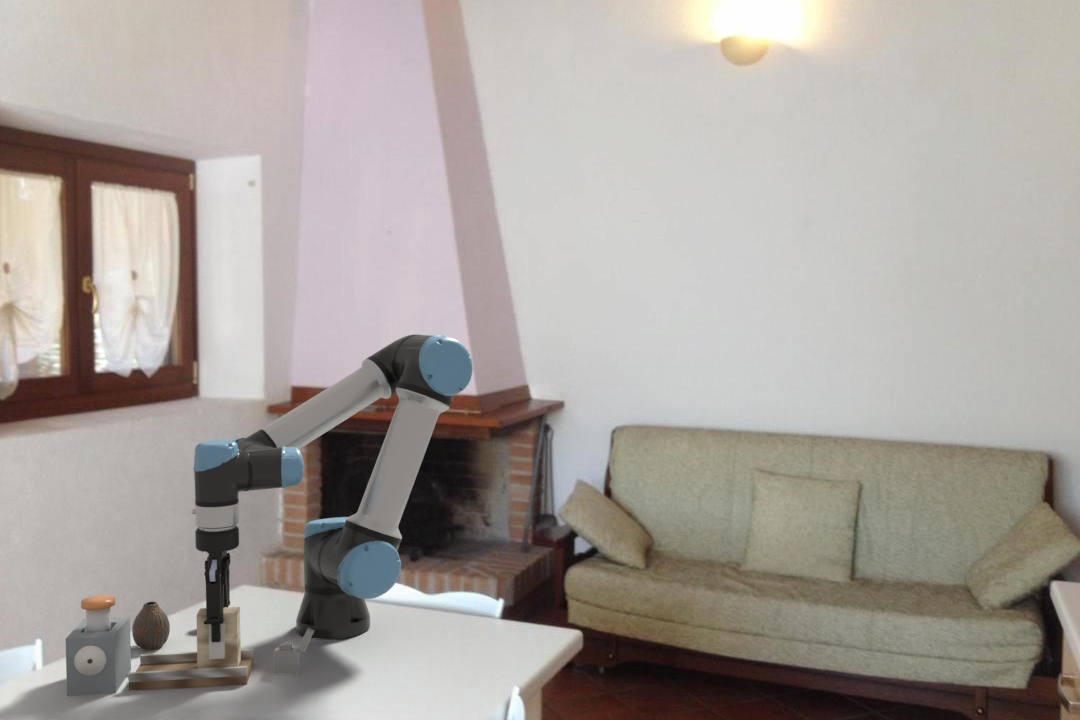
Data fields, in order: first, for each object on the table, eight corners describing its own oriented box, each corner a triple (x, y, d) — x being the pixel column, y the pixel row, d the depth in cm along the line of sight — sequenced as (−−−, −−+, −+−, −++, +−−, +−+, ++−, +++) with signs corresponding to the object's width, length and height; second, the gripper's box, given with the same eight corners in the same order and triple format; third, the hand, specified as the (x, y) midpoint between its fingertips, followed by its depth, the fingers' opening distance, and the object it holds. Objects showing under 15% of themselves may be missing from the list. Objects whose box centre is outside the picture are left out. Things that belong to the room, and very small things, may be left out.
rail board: (253, 664, 188) (253, 648, 188) (246, 684, 179) (246, 667, 178) (141, 670, 185) (141, 654, 185) (128, 690, 175) (128, 674, 175)
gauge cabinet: (131, 669, 185) (129, 616, 185) (114, 694, 174) (113, 637, 173) (85, 672, 184) (83, 618, 183) (65, 696, 173) (64, 639, 172)
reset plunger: (119, 637, 182) (118, 594, 182) (111, 648, 177) (110, 603, 176) (87, 639, 181) (86, 595, 181) (77, 650, 176) (76, 605, 175)
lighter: (274, 673, 184) (273, 631, 183) (276, 670, 185) (275, 627, 185) (313, 672, 184) (313, 630, 184) (315, 669, 186) (314, 626, 185)
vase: (157, 654, 194) (156, 609, 193) (125, 651, 195) (124, 607, 195) (177, 642, 200) (176, 599, 200) (146, 639, 202) (145, 597, 201)
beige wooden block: (240, 659, 185) (239, 606, 184) (237, 667, 181) (236, 613, 180) (201, 662, 184) (200, 608, 183) (197, 669, 180) (196, 615, 179)
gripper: (203, 517, 189) (205, 639, 190) (186, 538, 172) (189, 671, 173) (244, 516, 190) (246, 637, 191) (232, 536, 173) (234, 669, 175)
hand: (219, 653), depth 182 cm, fingers closed on beige wooden block, 4 cm apart
